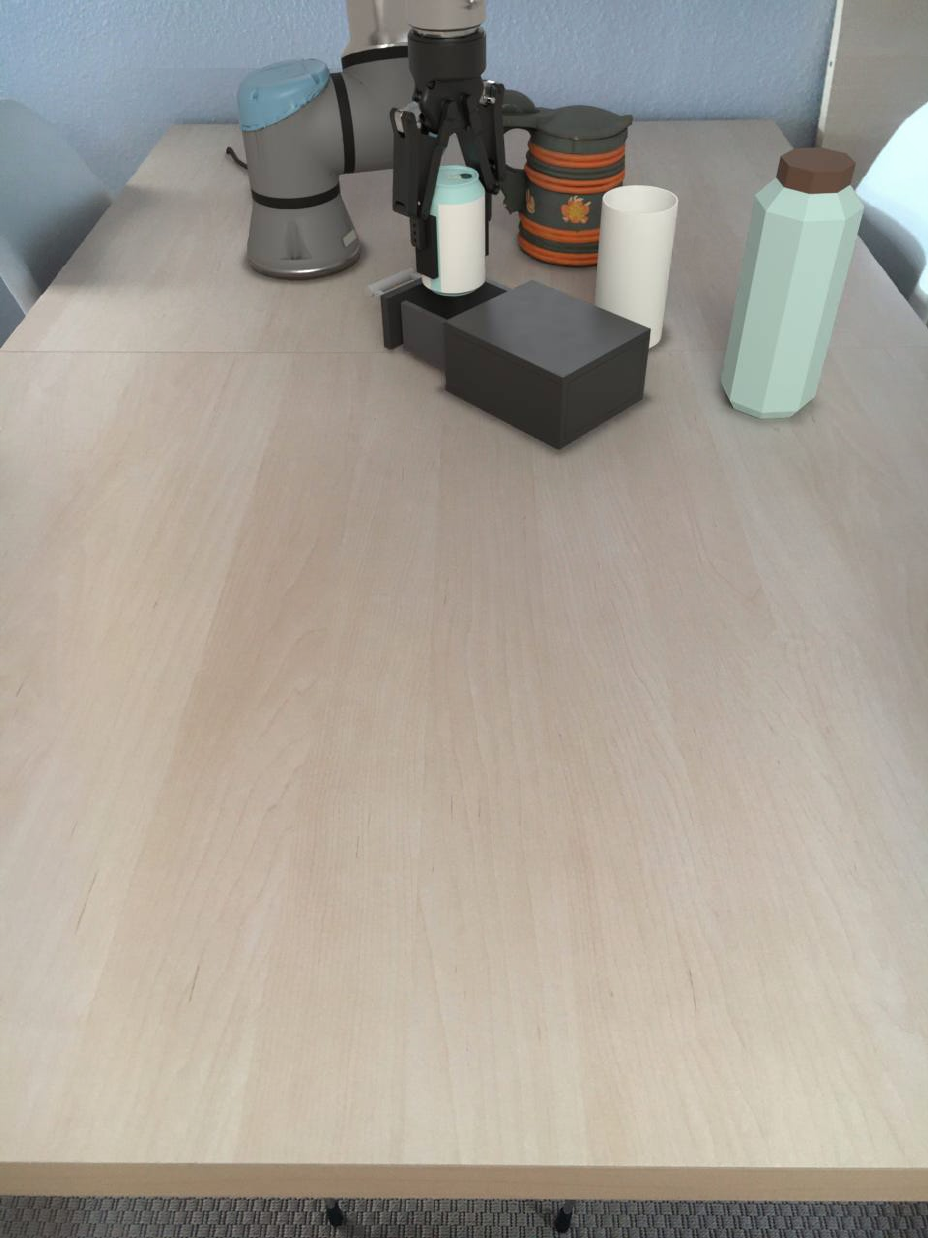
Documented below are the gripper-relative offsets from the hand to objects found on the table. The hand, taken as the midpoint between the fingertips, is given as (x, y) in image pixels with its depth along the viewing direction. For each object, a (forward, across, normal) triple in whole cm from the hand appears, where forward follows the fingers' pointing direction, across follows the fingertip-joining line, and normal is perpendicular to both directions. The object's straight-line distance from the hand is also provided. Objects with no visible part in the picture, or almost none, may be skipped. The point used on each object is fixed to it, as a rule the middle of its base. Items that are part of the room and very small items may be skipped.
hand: (453, 262), depth 109 cm
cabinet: (+11, 0, -14) cm, 18 cm away
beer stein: (+11, +30, +11) cm, 34 cm away
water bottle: (+11, +16, -32) cm, 37 cm away
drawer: (+10, 0, +1) cm, 10 cm away
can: (+3, 0, 0) cm, 3 cm away
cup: (+11, +17, -12) cm, 24 cm away
